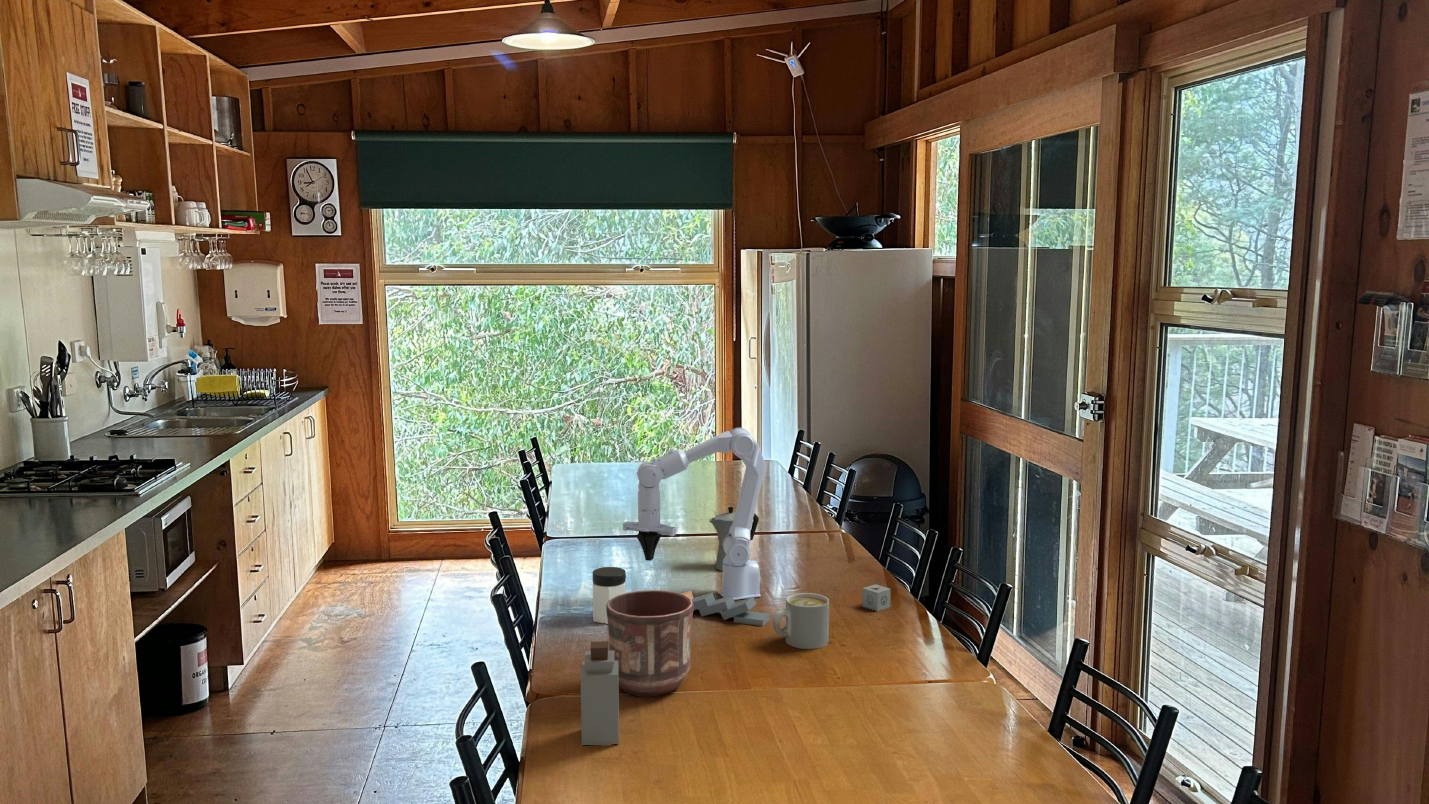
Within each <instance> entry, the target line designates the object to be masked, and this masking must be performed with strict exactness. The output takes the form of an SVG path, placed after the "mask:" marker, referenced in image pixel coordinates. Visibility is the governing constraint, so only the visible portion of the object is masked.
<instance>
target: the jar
mask: <svg viewBox="0 0 1429 804" xmlns="http://www.w3.org/2000/svg"><path fill="white" fill-rule="evenodd" d="M626 572H627V571H626V570H625V569H624V568H621V567H619V566H603V567H598V568H595V569H593V571H592V621H593V622H595V623H599V624H604V623H605V624H604V625H608V620H607V612H606V604H607V603H608V601H609V600H610V599H612V598H614V597H616V596H619V595H622V594H625V593H626V580H627V579H626V578H627V574H626Z"/></svg>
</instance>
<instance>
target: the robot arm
mask: <svg viewBox="0 0 1429 804" xmlns="http://www.w3.org/2000/svg"><path fill="white" fill-rule="evenodd" d="M730 451H731V452H732V453H733V454H734V455H735V456H736V457H738V459H740V460H741V462H743V464H744V466H745V471H744V475H743V480H742V483H741V486H740V491H739V496H738V500H737V503H736V508H735V512H734V513H735V516H734V520H733V524H732V526H731V527H730V530H729V533H728V535H727V536H726V537H725V539H724V540H723V544H722V546H723V550H724V552H725V553H726V556H725V558H724V559H723V572H722V579H721V580H722V582H721V583H722V586H721V587H722V589H717V590H716V592H717V593H718V594H719V595H720V597H722V598H725V597H729V596H733V599H734V601H736V600H746V599H748V598H751V597H754V598H758V597H761V596H762V595H761V593H760V587H761V586H760V584H761V583H760V582H761V581H760V577H761V575H760V567H759V564H758V562H757V561H756V560H751V559H750V557H751V550H750V542H751V540H750V530H751V528H752V522H753V517H754V513H755V512H756V508H757V503H758V499H759V497H760V496H759V495H760V491H761V487H762V484H763V478H764V474H765V470H766V461H765V458H764V455H763V453H762V451H761V448H760V445H759V443H758V442H757V441H756V440H755V438H754V437H753V436H752V435H751V434H750V432H749V431H748V430H747V429H745V428H743V427H735V428H732V429H731V430H727V431H723V432H722V433H719V434H717V435H715V436H713V437H711V438H709V439H707V440H705V441H703V442H701V443H699V444H697V445H695V446H693V447H691V448H688V449H687V450H684V451H683V450H680V449H675V450H674V449H673V448H671V449H670V450H669V449H668V451H667V452H668V453H667V454H664V455H661V456H659V457H657V458H656V457H652V458H651V461H644V462H642V463H641V464H640V465H639V467H638V468H637V472H636V475H637V479H638V484H637V486H638V488H637V489H638V490H637V513H638V514H637V521H625V522H622V531H625V532H626V531H632V532H638V533H637V534H636V539H637V540H638V542H639V544H640V546H641V549H642V552H643V554H644V560H645V561H649V562H650V561H652V560H654V556H655V552H656V550H657V546H658V543H659V541H660V539H661V538H662V535H665V536H666V535H667V536H669V537H674V536H676V535H677V527H676V526H669V525H667V524H662V523H661V490H660V483H661V480H667V479H668V478H671V477H672V476H675V475H677V474H679V473H682V472H685V471H686V470H687V469H688V467H689V464H690V463H694V462H696V461H697V460H701V459H704V458H707V457H708V456H711V455H713V454H716V453H722V454H727V455H730V454H731V452H730ZM755 514H756V513H755Z"/></svg>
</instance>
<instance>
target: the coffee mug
mask: <svg viewBox="0 0 1429 804" xmlns="http://www.w3.org/2000/svg"><path fill="white" fill-rule="evenodd" d="M784 617H785V625H784V627H783V628H780V620H781V619H782V618H784ZM772 627H773V630H774V631H775V633H776V634H777V635H780V636H783V637H785V642H786V644H787V645H788V646H790V647H792V648H797V649H802V650H816V649H821V648H824V647H826V646H827V645H828V644H829V639H830V637H829V635H830V633H829V632H830V630H829V627H830V599H829V598H828V597H827V596H824V595H822V594H820V593H819V594H818V593H812V592H801V593H794V594H790V595H788V596H787V597H786V600H785V608H783V609H779V610H778V611H776V612H775V613H774V615H773V618H772Z"/></svg>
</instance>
